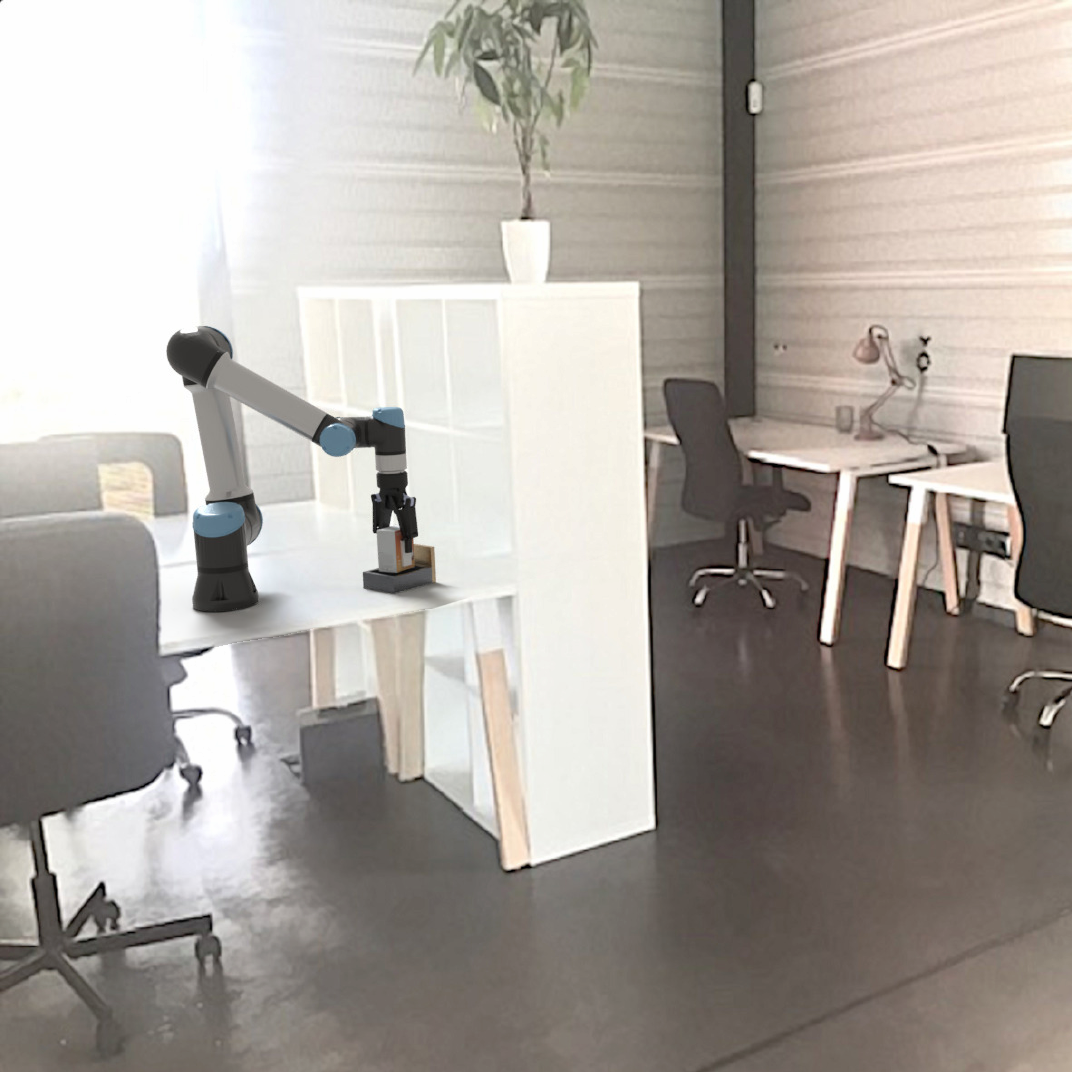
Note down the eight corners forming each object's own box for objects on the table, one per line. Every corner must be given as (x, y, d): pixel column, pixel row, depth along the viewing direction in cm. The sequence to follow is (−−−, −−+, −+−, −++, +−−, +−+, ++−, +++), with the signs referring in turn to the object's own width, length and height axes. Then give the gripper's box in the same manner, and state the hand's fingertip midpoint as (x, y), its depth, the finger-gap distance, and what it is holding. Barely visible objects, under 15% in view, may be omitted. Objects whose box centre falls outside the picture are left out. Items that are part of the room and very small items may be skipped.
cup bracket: (363, 587, 291) (361, 552, 289) (405, 576, 302) (403, 542, 300) (394, 593, 284) (392, 557, 282) (436, 582, 295) (434, 546, 293)
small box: (396, 573, 287) (394, 531, 285) (378, 571, 290) (375, 529, 288) (415, 566, 294) (413, 525, 292) (397, 565, 297) (395, 523, 294)
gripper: (430, 471, 284) (435, 565, 288) (376, 466, 296) (381, 556, 300) (408, 475, 278) (413, 571, 283) (353, 470, 290) (359, 562, 295)
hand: (396, 563), depth 292 cm, fingers closed on small box, 6 cm apart
